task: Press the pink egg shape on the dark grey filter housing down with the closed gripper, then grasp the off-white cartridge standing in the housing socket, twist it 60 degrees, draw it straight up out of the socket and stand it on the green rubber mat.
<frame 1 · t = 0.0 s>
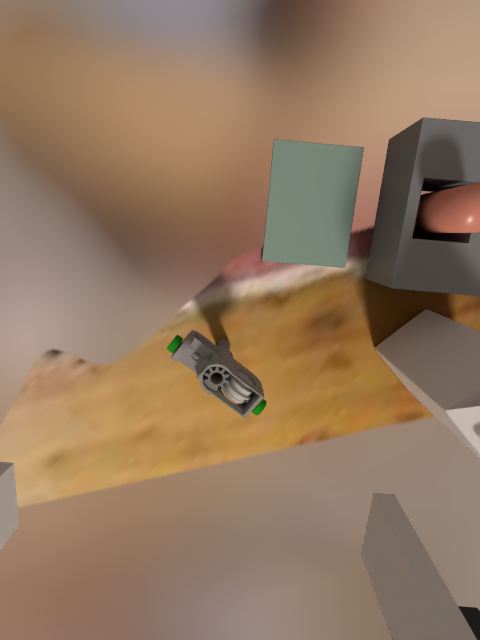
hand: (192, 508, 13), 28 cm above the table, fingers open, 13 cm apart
mechanical component: (223, 344, 41), on the table
milk carton: (415, 349, 41), on the table
pink egg shape: (448, 211, 30), point 7 cm above the table, slide at 0.0 cm
housing: (457, 219, 37), on the table
mat: (310, 206, 37), on the table
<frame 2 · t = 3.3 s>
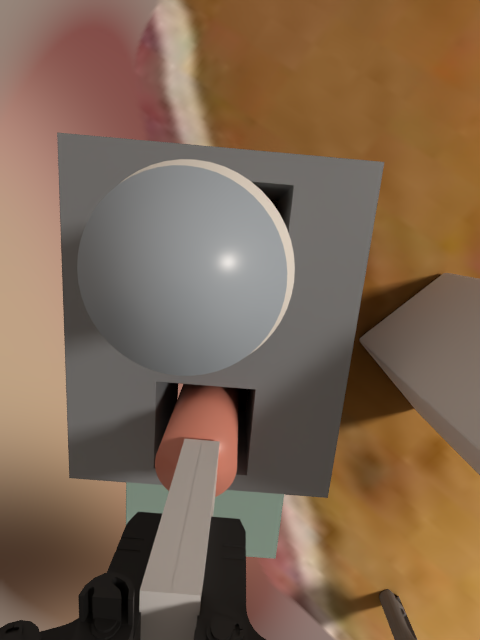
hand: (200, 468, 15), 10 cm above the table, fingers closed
mechanical component: (387, 594, 30), on the table
milk carton: (427, 342, 25), on the table
pink egg shape: (204, 421, 19), point 6 cm above the table, slide at 1.1 cm, touching gripper
housing: (218, 308, 24), on the table
mat: (204, 501, 28), on the table
cartridge: (222, 248, 23), resting in housing
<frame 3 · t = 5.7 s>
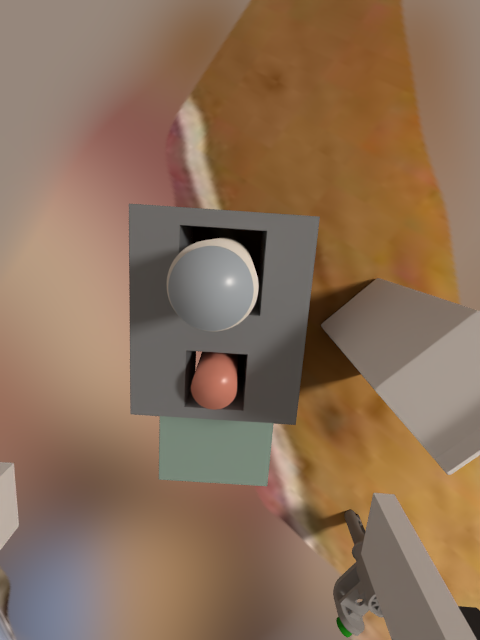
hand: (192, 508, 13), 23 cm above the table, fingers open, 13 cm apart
mechanical component: (350, 513, 41), on the table
milk carton: (368, 326, 35), on the table
pink egg shape: (217, 370, 31), point 5 cm above the table, slide at 2.6 cm
housing: (223, 305, 35), on the table
mat: (215, 444, 38), on the table
cartridge: (225, 264, 34), resting in housing
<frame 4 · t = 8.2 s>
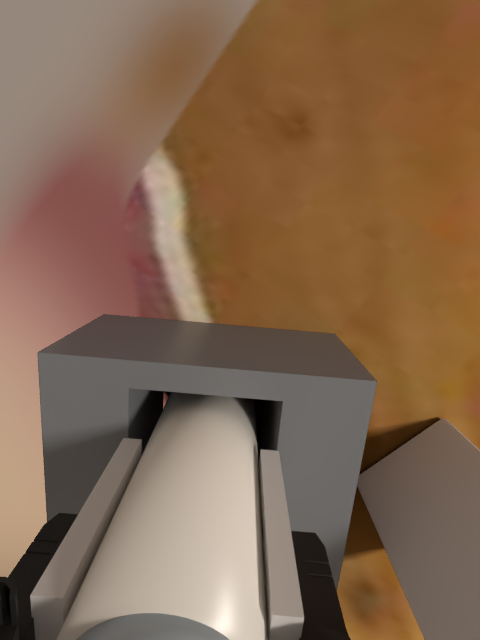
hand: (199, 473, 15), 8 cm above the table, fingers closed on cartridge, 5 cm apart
milk carton: (425, 480, 24), on the table
housing: (210, 447, 23), on the table
cartridge: (214, 392, 22), resting in housing, touching gripper
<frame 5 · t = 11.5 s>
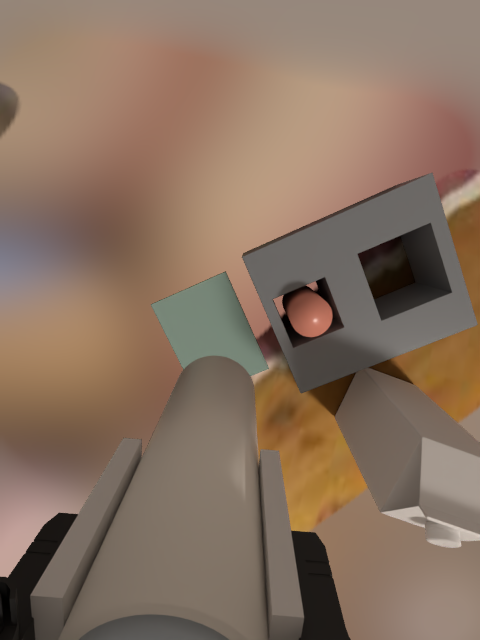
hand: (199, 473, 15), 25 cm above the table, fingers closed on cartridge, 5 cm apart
milk carton: (373, 400, 41), on the table
pink egg shape: (304, 308, 34), point 5 cm above the table, slide at 2.6 cm
housing: (341, 281, 38), on the table
mat: (211, 336, 40), on the table
cartridge: (215, 392, 22), point 18 cm above the table, touching gripper
when the fingers open (9 cm above the table, at t = 15.2 s): cartridge stays where it is, resting on mat.
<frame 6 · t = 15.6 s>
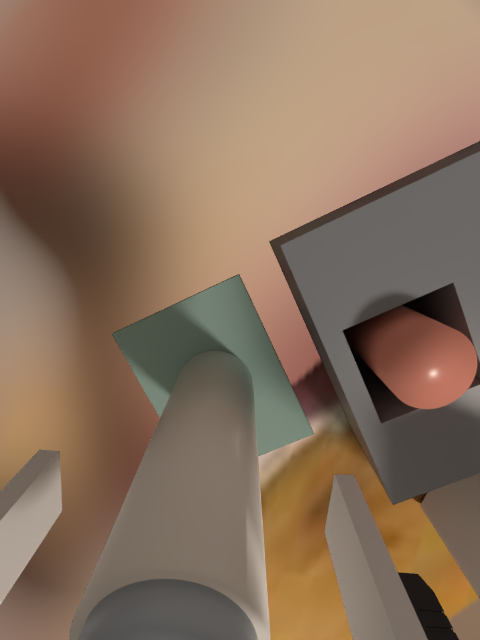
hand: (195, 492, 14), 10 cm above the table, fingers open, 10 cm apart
pink egg shape: (394, 341, 18), point 5 cm above the table, slide at 2.6 cm
housing: (440, 286, 22), on the table
mat: (216, 383, 24), on the table
cartridge: (215, 386, 23), resting on mat
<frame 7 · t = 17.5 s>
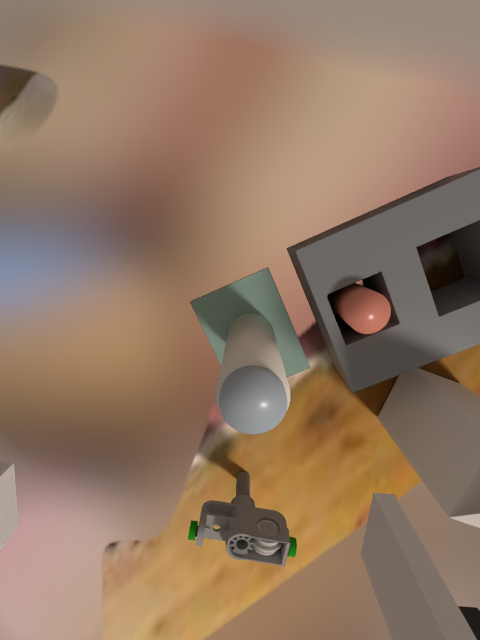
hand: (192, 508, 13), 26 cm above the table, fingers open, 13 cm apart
mechanical component: (243, 475, 43), on the table
milk carton: (417, 399, 40), on the table
pink egg shape: (355, 304, 33), point 5 cm above the table, slide at 2.6 cm
housing: (387, 277, 37), on the table
mat: (251, 334, 39), on the table
cartridge: (251, 335, 38), resting on mat
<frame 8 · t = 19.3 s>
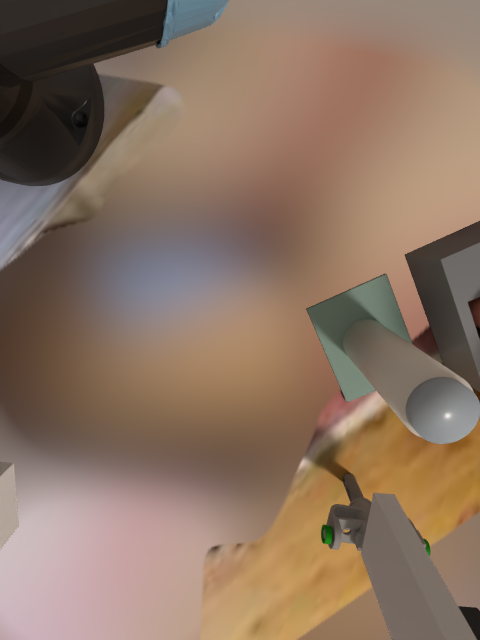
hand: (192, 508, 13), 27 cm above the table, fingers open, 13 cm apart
mechanical component: (348, 478, 44), on the table
mat: (364, 340, 39), on the table
cartridge: (365, 341, 39), resting on mat
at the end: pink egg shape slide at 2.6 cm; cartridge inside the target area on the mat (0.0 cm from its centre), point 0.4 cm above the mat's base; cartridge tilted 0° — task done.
